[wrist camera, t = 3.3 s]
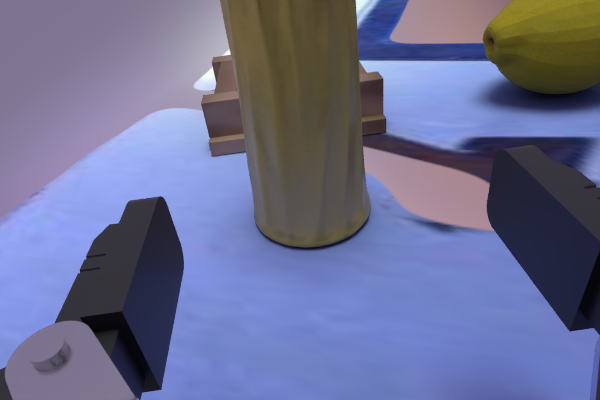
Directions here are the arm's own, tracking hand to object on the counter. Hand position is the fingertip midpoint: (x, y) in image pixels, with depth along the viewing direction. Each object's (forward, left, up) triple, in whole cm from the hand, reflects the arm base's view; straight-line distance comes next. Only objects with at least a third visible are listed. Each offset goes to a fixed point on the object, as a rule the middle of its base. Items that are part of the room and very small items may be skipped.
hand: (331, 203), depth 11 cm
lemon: (-19, -21, -8) cm, 29 cm away
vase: (0, -10, -8) cm, 13 cm away
